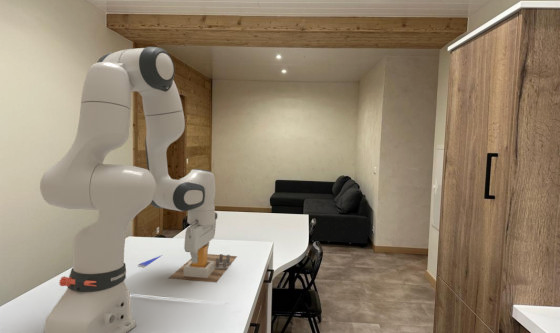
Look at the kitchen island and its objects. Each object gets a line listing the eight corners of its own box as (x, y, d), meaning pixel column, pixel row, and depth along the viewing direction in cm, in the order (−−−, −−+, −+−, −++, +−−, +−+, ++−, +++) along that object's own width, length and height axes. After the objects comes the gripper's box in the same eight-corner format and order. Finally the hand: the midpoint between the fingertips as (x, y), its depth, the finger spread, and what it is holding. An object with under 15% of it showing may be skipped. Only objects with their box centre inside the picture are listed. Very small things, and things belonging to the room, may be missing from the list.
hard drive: (156, 267, 128) (178, 257, 140) (138, 263, 131) (161, 254, 143) (156, 271, 129) (178, 262, 140) (138, 268, 132) (161, 258, 143)
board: (216, 286, 116) (216, 271, 116) (167, 281, 118) (168, 267, 118) (236, 259, 144) (237, 247, 144) (197, 256, 146) (197, 244, 146)
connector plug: (203, 275, 122) (203, 245, 121) (191, 274, 122) (192, 244, 122) (206, 271, 126) (207, 241, 125) (195, 270, 126) (196, 241, 126)
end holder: (207, 278, 120) (207, 268, 120) (183, 276, 121) (183, 267, 120) (214, 269, 128) (214, 261, 127) (192, 268, 129) (192, 259, 128)
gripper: (199, 224, 112) (198, 269, 113) (219, 213, 132) (217, 250, 133) (179, 223, 113) (178, 267, 114) (202, 211, 133) (201, 249, 134)
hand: (199, 258), depth 124 cm, fingers open, 8 cm apart
